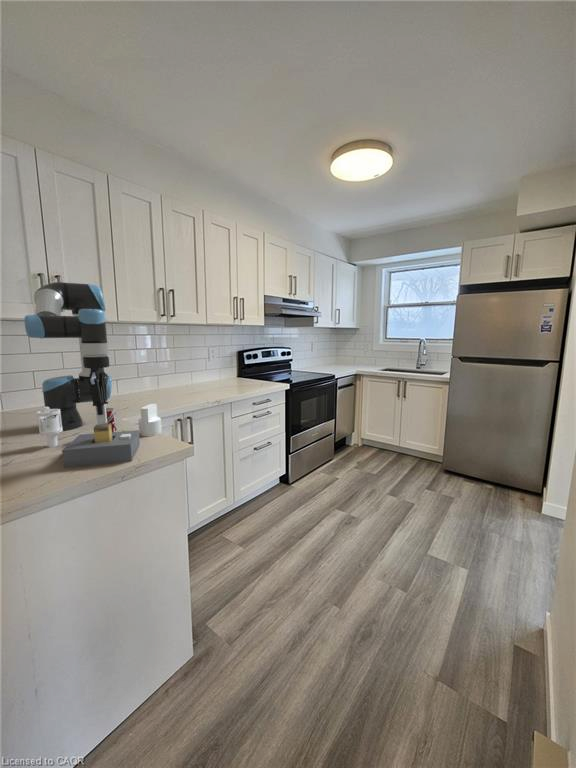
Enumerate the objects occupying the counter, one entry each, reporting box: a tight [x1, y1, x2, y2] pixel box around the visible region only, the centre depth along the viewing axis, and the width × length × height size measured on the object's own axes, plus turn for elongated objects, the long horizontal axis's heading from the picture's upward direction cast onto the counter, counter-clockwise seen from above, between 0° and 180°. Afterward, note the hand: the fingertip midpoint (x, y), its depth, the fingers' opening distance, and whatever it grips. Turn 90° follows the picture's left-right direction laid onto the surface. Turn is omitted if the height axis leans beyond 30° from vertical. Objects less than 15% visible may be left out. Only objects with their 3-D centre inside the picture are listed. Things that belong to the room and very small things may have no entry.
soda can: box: [104, 407, 118, 432], centre depth 129 cm, size 7×7×12 cm
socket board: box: [61, 429, 141, 468], centre depth 110 cm, size 16×20×7 cm
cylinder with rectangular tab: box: [138, 403, 163, 437], centre depth 135 cm, size 9×9×12 cm
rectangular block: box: [93, 423, 113, 443], centre depth 110 cm, size 4×4×10 cm
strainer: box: [36, 406, 63, 448], centre depth 119 cm, size 7×7×15 cm
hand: (102, 423), depth 109 cm, fingers closed
